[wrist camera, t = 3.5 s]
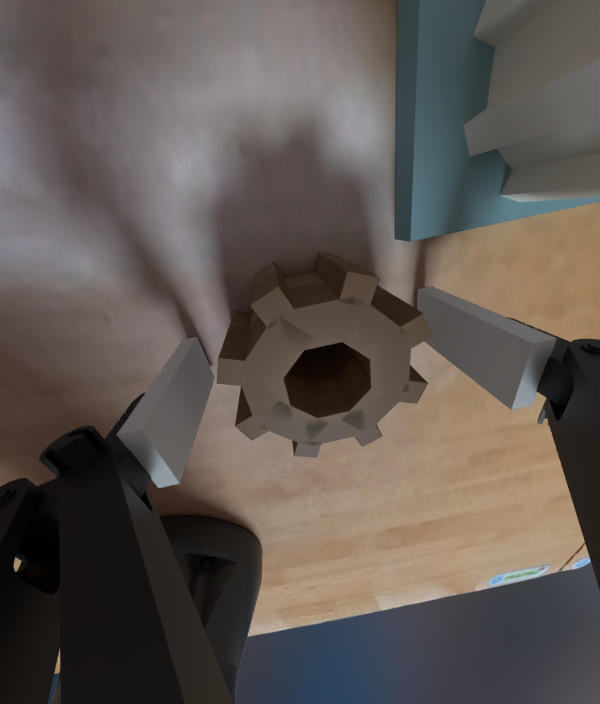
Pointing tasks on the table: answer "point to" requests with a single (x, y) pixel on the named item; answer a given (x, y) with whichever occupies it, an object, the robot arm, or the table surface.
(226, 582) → the robot arm
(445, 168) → the gear board
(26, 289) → the table surface
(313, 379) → the walnut gear
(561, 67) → the cream gear
